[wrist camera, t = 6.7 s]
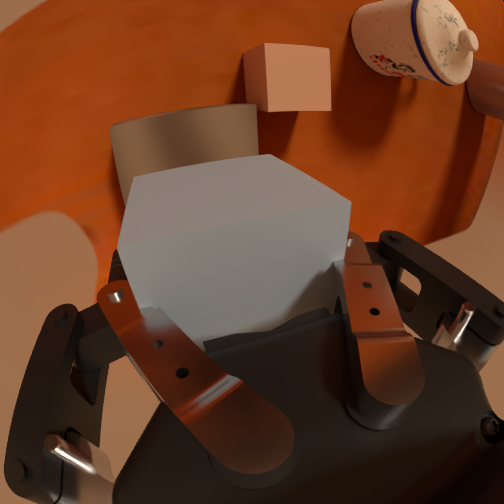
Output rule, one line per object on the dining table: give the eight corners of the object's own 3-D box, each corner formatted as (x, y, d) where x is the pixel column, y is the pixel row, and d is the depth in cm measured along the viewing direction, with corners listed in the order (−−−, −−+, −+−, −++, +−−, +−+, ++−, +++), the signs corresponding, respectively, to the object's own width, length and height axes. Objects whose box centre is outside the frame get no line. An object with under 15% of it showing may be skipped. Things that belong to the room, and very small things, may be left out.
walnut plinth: (240, 103, 20) (256, 104, 17) (247, 211, 26) (261, 230, 23) (117, 122, 18) (109, 127, 15) (140, 233, 23) (139, 256, 20)
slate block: (269, 154, 12) (351, 201, 7) (272, 263, 15) (327, 344, 10) (133, 177, 11) (117, 248, 6) (162, 289, 14) (177, 388, 9)
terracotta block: (297, 54, 19) (329, 48, 15) (300, 106, 22) (330, 110, 18) (242, 53, 18) (264, 43, 14) (246, 108, 21) (268, 111, 17)
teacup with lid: (350, 73, 21) (450, 82, 12) (342, -6, 16) (434, -28, 7) (424, 85, 24) (505, 104, 14) (419, 20, 19) (499, 23, 9)
